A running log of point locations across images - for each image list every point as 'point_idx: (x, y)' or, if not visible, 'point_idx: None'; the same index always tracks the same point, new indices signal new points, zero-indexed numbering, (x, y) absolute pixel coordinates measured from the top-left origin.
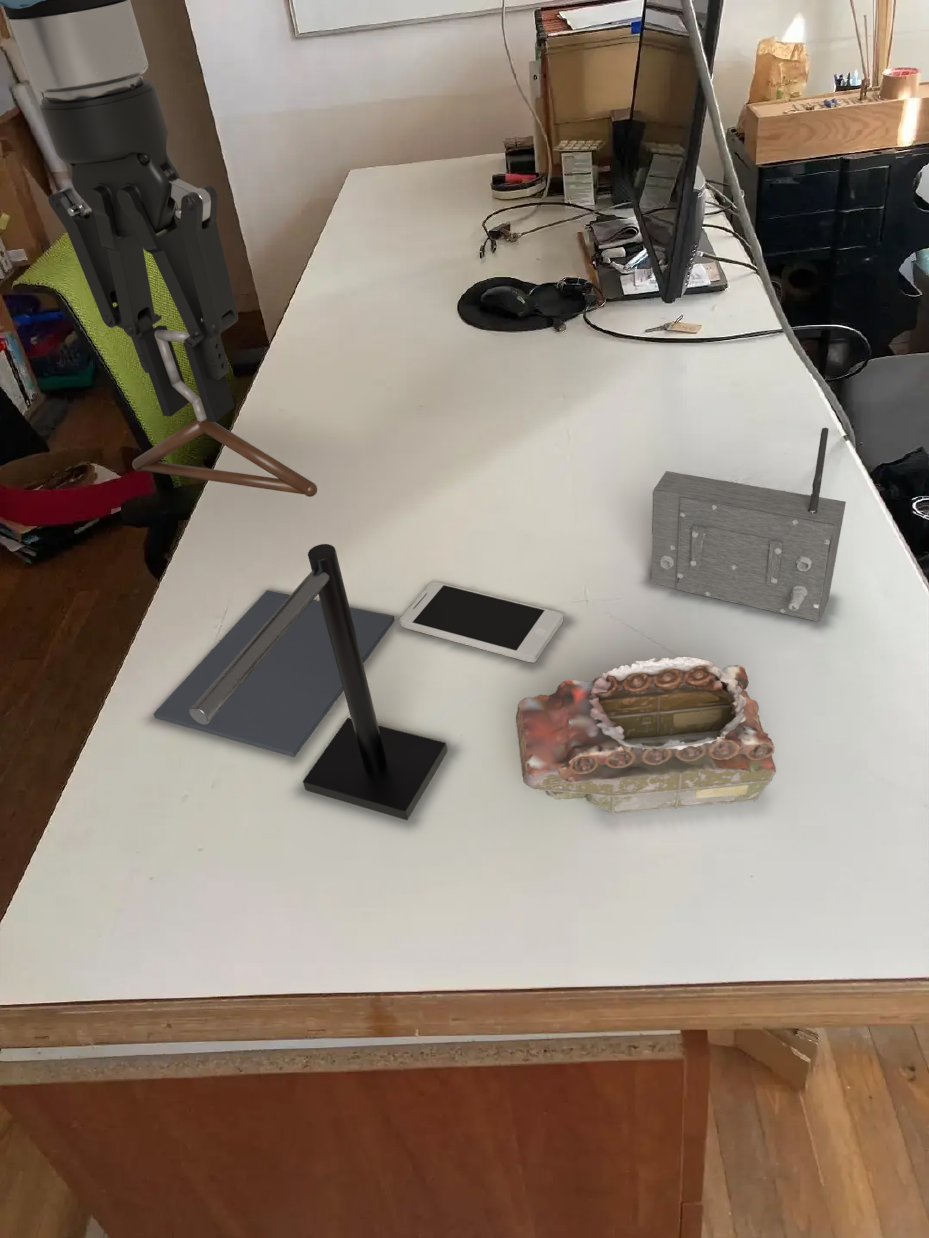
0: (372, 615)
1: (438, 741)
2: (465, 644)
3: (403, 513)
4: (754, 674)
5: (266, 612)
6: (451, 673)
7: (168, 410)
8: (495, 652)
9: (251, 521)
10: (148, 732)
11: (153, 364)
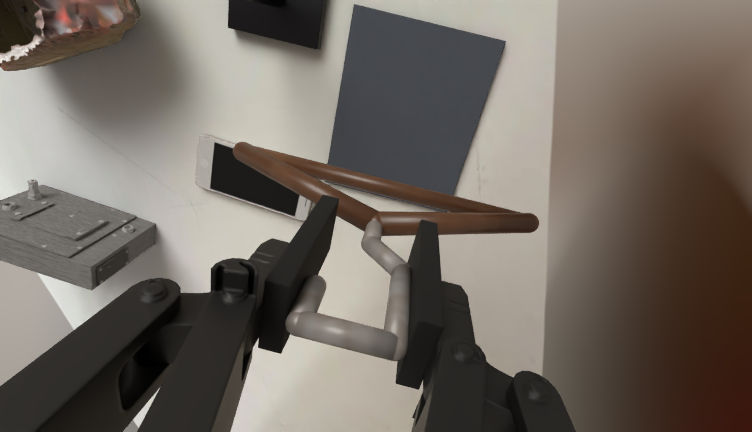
0: None
1: (234, 28)
2: None
3: (361, 306)
4: (61, 131)
5: (437, 184)
6: (261, 120)
7: (421, 224)
8: (234, 144)
9: (492, 303)
10: (505, 21)
11: (419, 280)
